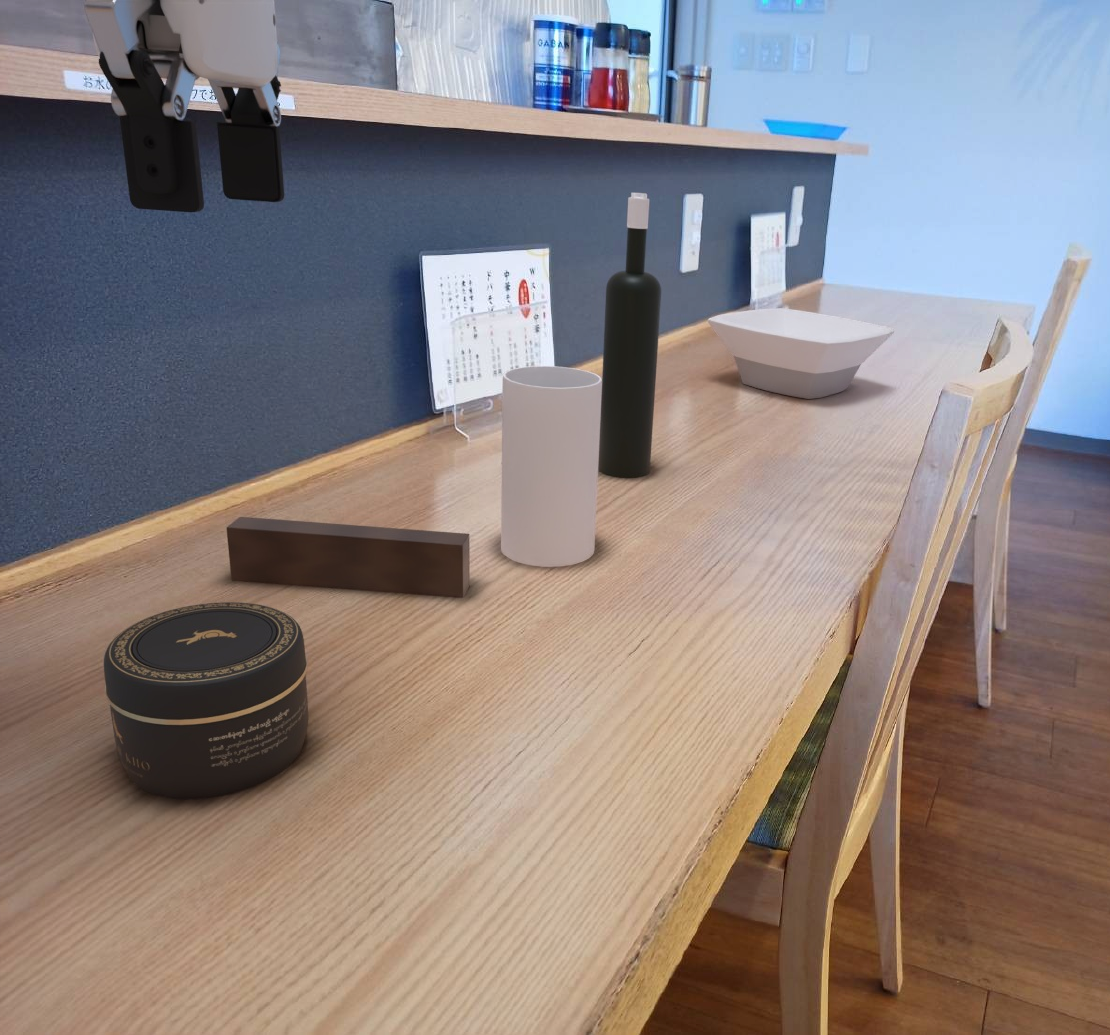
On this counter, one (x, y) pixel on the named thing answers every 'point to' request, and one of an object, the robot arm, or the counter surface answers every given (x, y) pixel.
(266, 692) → the jar
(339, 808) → the counter surface
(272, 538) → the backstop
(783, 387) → the bowl
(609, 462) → the wine bottle
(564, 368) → the cup
